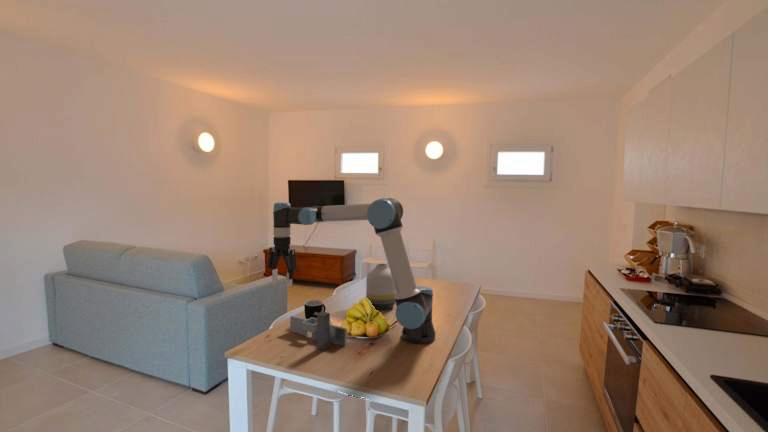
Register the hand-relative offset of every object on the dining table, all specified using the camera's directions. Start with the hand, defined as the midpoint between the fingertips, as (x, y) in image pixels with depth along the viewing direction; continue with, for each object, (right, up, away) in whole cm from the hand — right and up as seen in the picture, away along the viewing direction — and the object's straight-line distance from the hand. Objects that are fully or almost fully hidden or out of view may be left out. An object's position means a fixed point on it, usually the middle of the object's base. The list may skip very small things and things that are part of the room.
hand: (282, 284), depth 166 cm
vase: (+46, -20, +36) cm, 62 cm away
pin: (+22, -23, -18) cm, 37 cm away
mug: (+14, -21, +11) cm, 27 cm away
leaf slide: (+12, -22, -5) cm, 25 cm away
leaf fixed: (+24, -23, -11) cm, 35 cm away
